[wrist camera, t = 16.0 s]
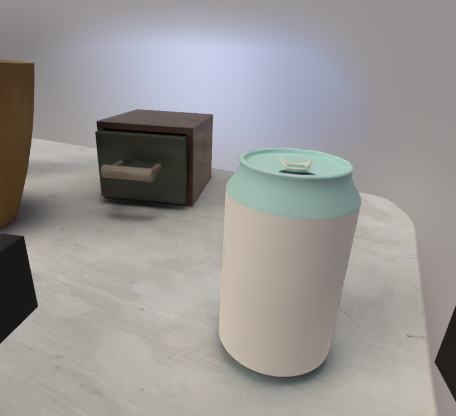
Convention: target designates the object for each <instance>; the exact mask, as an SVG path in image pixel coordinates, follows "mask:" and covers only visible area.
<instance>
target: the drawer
mask: <svg viewBox="0 0 456 416" xmlns="http://www.w3.org/2000/svg"><path fill="white" fill-rule="evenodd" d="M95 134H96V144H97V154H98V164H99V174H100V183H101V193H102V196H109V197H120V198H130V199H140V200H151V201H161V202H171V203H182V204H185V202H186V201H187V135H186V134H172V133H159V132H146V131H132V130H119V129H114V130H111V131H106V130H99V131H96V132H95Z"/></svg>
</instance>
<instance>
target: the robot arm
mask: <svg viewBox="0 0 456 416" xmlns="http://www.w3.org/2000/svg"><path fill="white" fill-rule="evenodd" d="M37 307H38V304H37V299H36V294H35V289H34V284H33V279H32V274H31V269H30V264H29V259H28V254H27V249H26V244H25V240H24V236H18V235H9V234H0V343H1V342H2V341H3V340H4V339H6V338H7V337H8V336H9V335H10V334H11V333H12V332H13V331H14V330H15V329H16V328H17V327H18V326H19V325H20V324H21V323H22V322H23V321H24V320H25V319H26V318H27V317H28V316H29V315H30V314H31V313H32V312H33V311H34V310H35V309H36V308H37ZM435 364H436V365H437V367H438V369H439V371H440V373H441V375H442V377H443V378H444V380H445V382H446V384H447V386H448V388H449V390H450V391H451V393H452V395H453V397H454V399H455V401H456V306H455V309H454V312H453V314H452V317H451V320H450V322H449V325H448V328H447V331H446V333H445V336H444V339H443V341H442V344H441V346H440V349H439V352H438V354H437V357H436V360H435Z"/></svg>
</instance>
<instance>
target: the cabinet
mask: <svg viewBox="0 0 456 416" xmlns="http://www.w3.org/2000/svg"><path fill="white" fill-rule="evenodd" d="M212 125H213V115H212V114H197V113H183V112H168V111H153V110H138V109H137V110H134V111H130V112H127V113H124V114H120V115H116V116H113V117H109V118H106V119H102V120H99V121H97V130H98V131H99V130H106V131H111V130H114V129H119V130H132V131H146V132H159V133H172V134H186V135H187V201H186V202H185V204H182V203H171V202H161V201H151V200H140V199H130V198H120V197H109V196H104V198H114V199H124V200H134V201H145V202H155V203H165V204H175V205H186V206H193V205H194V203H195V201H196V200H197V198H198V197H199V195H200V193H201V192H202V190H203V189H204V187H205V185H206V184H207V182H208V181H209V179H210V177H211V160H212V128H213V126H212Z"/></svg>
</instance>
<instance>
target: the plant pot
mask: <svg viewBox="0 0 456 416" xmlns="http://www.w3.org/2000/svg"><path fill="white" fill-rule="evenodd" d="M33 113H34V62H27V61H17V60H2V59H0V228H2V227H4V226H7V225H8V224H10V223H11V222H13V221H14V220H15V218H16V216H17V213H18V209H19V205H20V201H21V197H22V193H23V189H24V184H25V179H26V174H27V168H28V162H29V155H30V148H31V139H32V129H33Z"/></svg>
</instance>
